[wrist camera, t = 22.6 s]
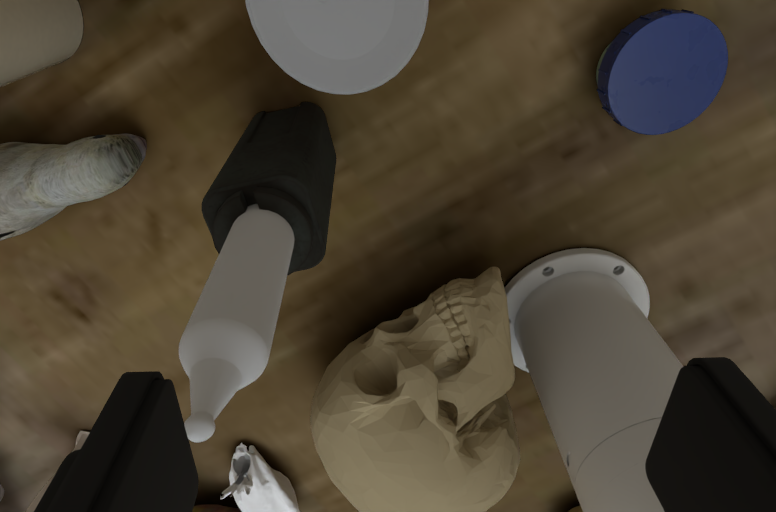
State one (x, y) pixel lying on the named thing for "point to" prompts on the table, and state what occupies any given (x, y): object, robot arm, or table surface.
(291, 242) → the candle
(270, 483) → the bird figurine
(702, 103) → the lid
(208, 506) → the anatomical model
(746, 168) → the table surface
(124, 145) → the decorative bird
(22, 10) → the jar
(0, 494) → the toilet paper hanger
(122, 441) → the robot arm
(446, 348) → the skull
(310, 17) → the canned food
